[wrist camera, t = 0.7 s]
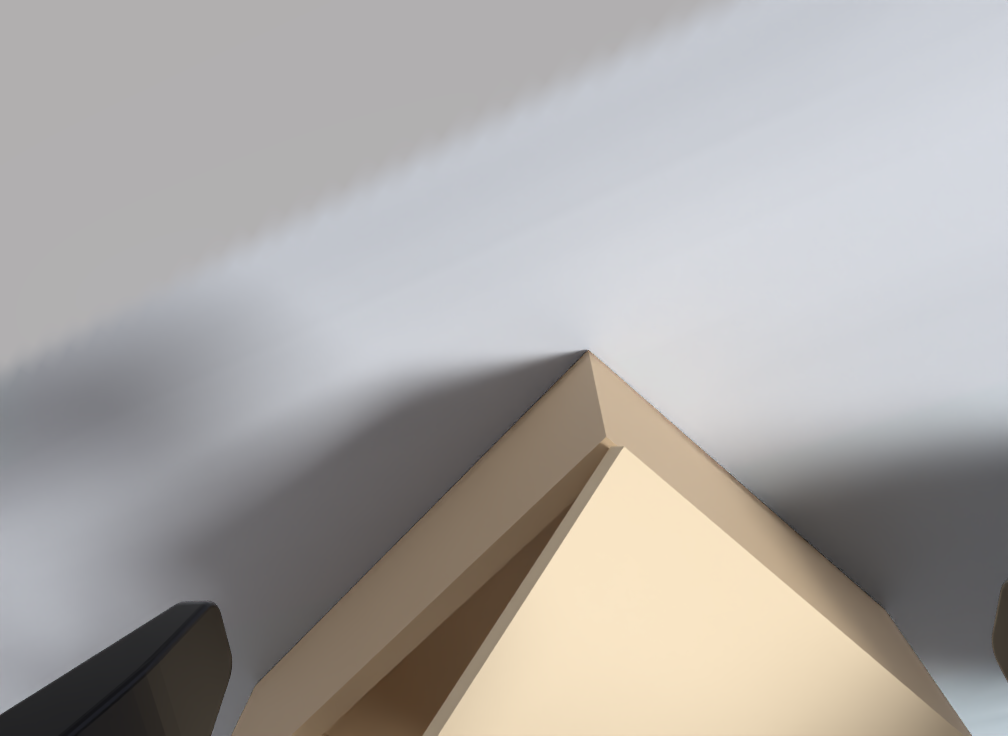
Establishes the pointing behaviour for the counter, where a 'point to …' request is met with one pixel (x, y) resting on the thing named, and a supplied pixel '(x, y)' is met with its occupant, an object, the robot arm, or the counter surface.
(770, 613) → the flap
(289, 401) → the counter surface
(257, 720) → the cardboard box
